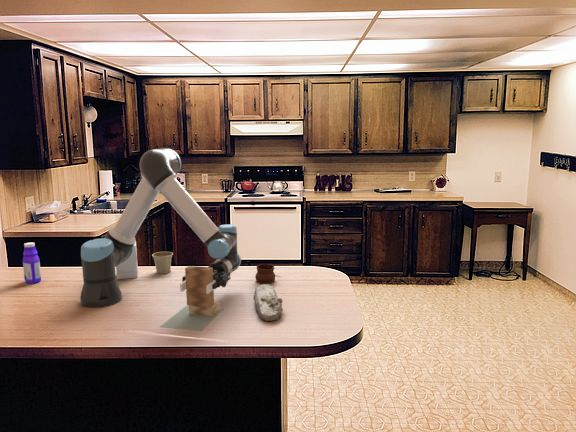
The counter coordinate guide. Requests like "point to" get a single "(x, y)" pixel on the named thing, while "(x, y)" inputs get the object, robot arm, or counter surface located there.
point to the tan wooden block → (205, 310)
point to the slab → (199, 286)
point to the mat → (188, 320)
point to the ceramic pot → (265, 274)
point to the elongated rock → (267, 303)
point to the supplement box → (128, 266)
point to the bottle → (31, 264)
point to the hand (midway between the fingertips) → (194, 288)
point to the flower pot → (162, 261)
